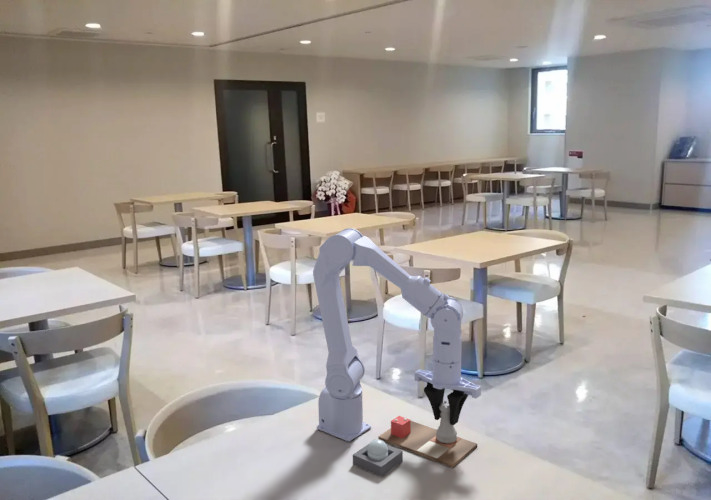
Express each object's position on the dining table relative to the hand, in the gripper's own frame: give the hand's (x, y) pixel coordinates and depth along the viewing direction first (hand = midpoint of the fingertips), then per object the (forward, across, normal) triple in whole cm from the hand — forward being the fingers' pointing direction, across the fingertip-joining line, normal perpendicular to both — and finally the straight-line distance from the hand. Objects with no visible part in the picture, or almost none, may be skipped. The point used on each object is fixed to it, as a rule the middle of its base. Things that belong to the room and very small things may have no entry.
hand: (446, 420), depth 122 cm
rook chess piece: (+4, 0, 0) cm, 4 cm away
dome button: (+6, -7, -15) cm, 17 cm away
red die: (+5, -9, -4) cm, 11 cm away
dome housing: (+5, -7, -15) cm, 17 cm away
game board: (+5, -3, -2) cm, 6 cm away
